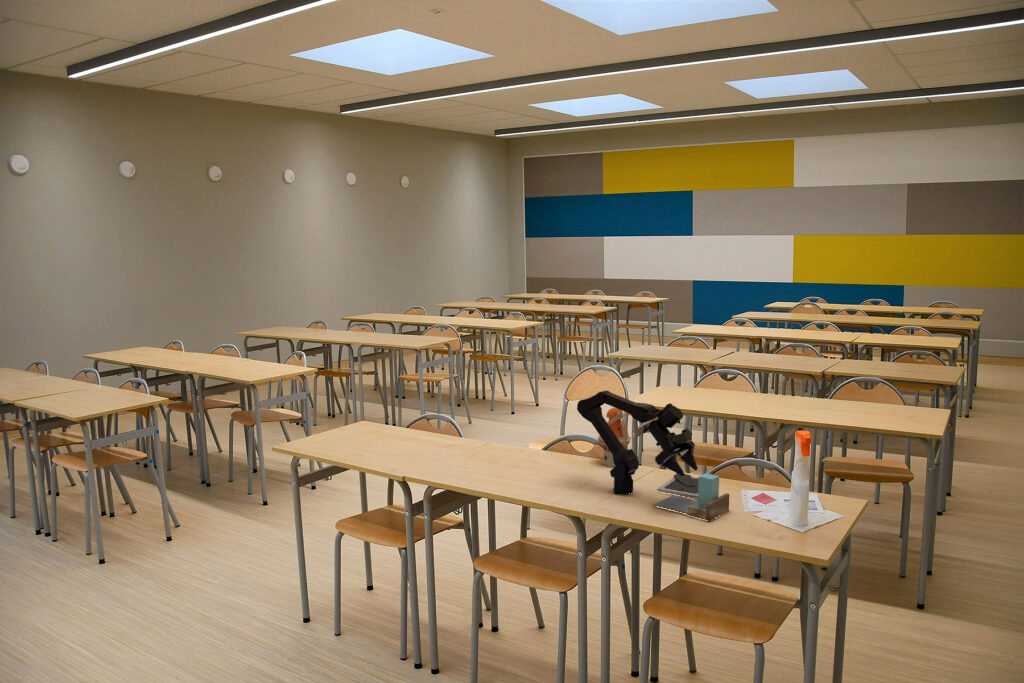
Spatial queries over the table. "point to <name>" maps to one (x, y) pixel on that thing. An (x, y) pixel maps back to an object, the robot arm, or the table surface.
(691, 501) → the slate pad
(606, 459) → the windmill
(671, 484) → the picture frame
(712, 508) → the walnut slot rack
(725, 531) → the table surface
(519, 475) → the table surface
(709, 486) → the teal block
